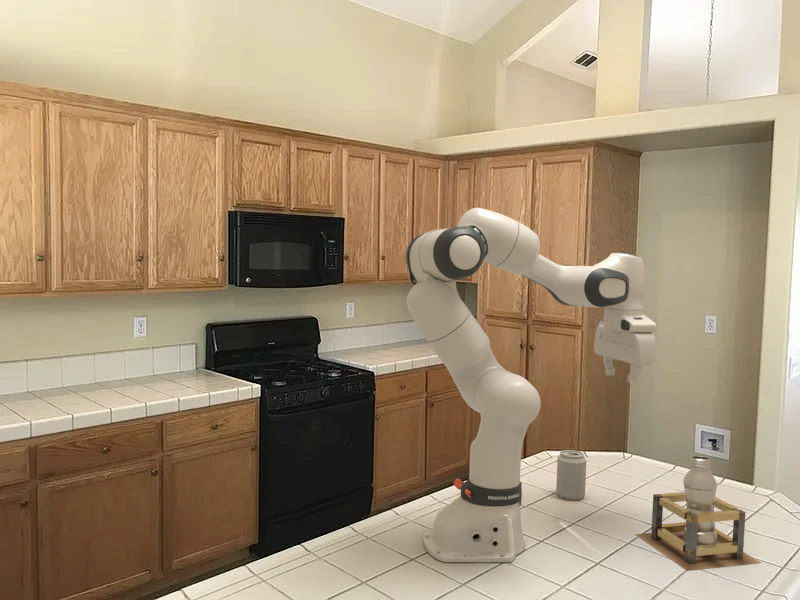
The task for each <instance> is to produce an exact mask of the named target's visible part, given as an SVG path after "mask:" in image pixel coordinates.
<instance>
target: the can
mask: <svg viewBox="0 0 800 600" xmlns="http://www.w3.org/2000/svg"><path fill="white" fill-rule="evenodd" d="M559 453H560V454H559V455H558V456H557V460H556V463H557V464H556V465H557V466H556V483H555V484H556V485H555V486H556V489H555V493H556V494H557V495H558V496H559V497H560V498H561V499H563V498H564V499H563V500H566V499H568V500H567V501H579V500H578V499H580V500H581V499H583V498H584V497H585V496H586V482H587V481H586V480H587V479H586V477H587V458H586V457H585V453H584V452H582V451H580V450H579V451H578V450H574V449H565V450H561V451H560V452H559Z"/></svg>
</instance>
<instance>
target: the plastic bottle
mask: <svg viewBox="0 0 800 600" xmlns="http://www.w3.org/2000/svg"><path fill="white" fill-rule="evenodd" d="M689 465H690V467H691V468H690V469H689V470H688V471H687V472H686V474H685V476H684V477H683V490H684V492H685V496H686V501H685V506H686V507H685V509H687V510H688V511H690V512H691V513H704V512H715V507H714V502H715V497H716V496H717V495H716V493H717V485H718V483H717V481H716V478H715V476H714V475H713V473H712V472H711V471H710V468H711V459H710V457H708V456H703V455H702V456H701V455H692V456H691V457H690V463H689ZM685 522H686V525H685V529H684V536H683V538H684V542H686V527H687V519H685ZM715 523H716V522H706V523H698V531H697V546H699V545H709V544H717V541H718V540H717V534H716V531H715V529H716V524H715Z"/></svg>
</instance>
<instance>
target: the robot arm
mask: <svg viewBox="0 0 800 600" xmlns="http://www.w3.org/2000/svg"><path fill="white" fill-rule="evenodd" d="M456 225H457V226H453V227H448V228H437V229H433V230H430V231H428V232H424V233H423V232H422V233H420V234H418V235H417V236H416V237H414V238H413V239H412V240H411V241H410V242H409V244H408V245H407V247H406V251H405V262H406V267H407V269H408V272H409V279H410V282H411V284H413V286H412V287H411V289H410V290H409V292H408V294H407V296H406V307H407V308H408V311H409V313H410V315H411V317H412V320H413V321H414V323H415V325H416V327H417V328H418V330H419V331H420V333H421V335H422V336H423V338H424V339H425V340H426V342H427V343H428V344H429V345H430V347H431V349H432V350H433V351H434V352H435V353H436V355H437V357H438V358H439V359H440V360H441V362H442V364H443V366H445V368H446V370H447V371H448V372H449V375H450V376H451V378H452V380H453V383H454V384H455V386H456V388H457V389H458V391H459V393H460V396H461V397H462V399H463V400H464V401H465V403H466V404H467V405H468V407H469V408H471V409H472V410H474V411H475V412H476V413H477V412H478V413H479V414H480V423H479V428H478V430H477V434H476V437H475V438H474V439H473V441H471V444H470V449H469V477H468V478H467V480H465V482H464V481H463V480H462V479H461V478H458V477H457V478H455V479H454V481H453V486H454V487H455V488H456V489H457V490H460V496H458V497H457V498H456V499H453V501H452V502H450V503H449V504H448V505H446V506H445V507H443V508H442V509H441V510H440V511H438V512H437V514H436V515H435V518H434V522H433V528H432V530H429V531H424V533H423V535H422V545H423V547H424V548H425V550H426V552H427V553H428V554H429V555H430V556H431V557H433V558H434V559H435V560H438V561H441V562H442V563H511V562H514V560H515V558H516V556H517V555H519V554H521V553H522V552H523V551H524V550H525V549H526V544H525V539H524V534H523V529H522V523H521V522H522V521H521V505H522V499H523V498H522V497H523V495H522V494H523V491H522V487H523V485H522V482H521V466H522V465H521V464H522V463H521V462H522V451H523V450H522V449H523V445H524V441H525V437H526V433H527V431H528V427H530V426H529V425H530V424H532V423H533V421H535V420H536V418H537V417H538V415H539V413H540V410H541V405H542V404H541V403H542V401H541V396H540V394H539V391H538V390H537V388H535V386H533V384H531V383H530V382H529V381H528V380H527V379H526V378H525V377H523V376H522V375H519V374H515V373H514V372H510V371H508V370H506V368H504V367H503V366H502V365H501V364H500V363H499V362H498V360H497V359H496V356H495V355H494V352H493V350H492V348H491V340H490V338H489V336H488V335H487V333H486V332H485V330H483V328H482V326H481V325H480V324H479V322H478V320H476V318H475V317H474V315H473V314H472V312H471V311H470V309H469V308H468V307H467V305H466V304H465V302H464V301H463V300H462V299H461V296H460V294H459V292H458V288H457V281H460V280H465V279H467V278H469V277H471V276H473V275H474V274H475V273H476V272H477V271H478V270H479V269H480V267H481V266H482V264H483V262H484V263H487V265H489V266H490V265H491V266H493V267H494V268H497V269H499V270H501V271H504V272H507V273H511V274H515V275H521V276H523V277H524V278H526V279H528V280H530V281H532V282H534V283H536V284H537V285H539V286H541V287H543V288H544V289H545V290H547V292H548V293H549V294H550V295H551V296H552V297H553V299H554V300H555V301H556V302H558V303H559V304H561V305H562V306H563V305H564V306H569V307H571V306H575V307H576V306H578V307H586V308H595V309H596V308H597V309H598V308H599V309H601V308H604V311H603V313H604V314H603V318H601V320H600V321H599V322H598V326H597V327H596V329H595V335H594V342H593V345H594V346H593V350H594V353H595V355H599V356H602V361H603V364H604V368H605V369H604V370H605V373H604V374H605V375H607V376H611V377H612V376H615V375H616V368H615V367H614V364H613V361H614V360H618V361H621V362H624V363H628V364H630V365H629V366H630V367H629V368H630V372H629V374H627V382H628V383H632V384H637V383H638V382H639V375H640V373H641V371H642V369H643V368H642V366H644V367H647V366H648V367H649V366H651V365H653V362H654V361H655V357H656V356H655V354H656V352H655V351H656V337H655V335H654V333H655V332H656V331H657V323H656V322H654V321H653V320H652V319H651V318H649V317H648V316H647V315H646V314H645V313H644V303H643V297H644V294H645V290H646V289H645V288H646V287H645V286H646V273H645V264H644V260H643V258H642V257H640V256H639V255H637V254H635V253H630V252H622V251H621V252H620V251H615V252H612V253H610V255H608V257H607V258H605V259H603V260H602V261H600V262H598V263H596V264H593V265H575V264H558V263H556V262H554V261H552V260H550V259H549V258H547V257H545V256H543V255H541V254H540V252H541V242H540V239H539V236H538V234H537V233H536V232H535V231H533V230H532V229H531V228H529V227H528V226H527V225H525V224H523V223H521V222H520V221H518V220H515V219H514V218H511V217H509V216H507V215H504V214H502V213H499V212H496V211H493V210H490V209H486V208H482V207H473V208H470V209H469V210H467V211H466V212H465V213H464V214H462V216H461V218H460V219H459V221H458V223H457V224H456Z"/></svg>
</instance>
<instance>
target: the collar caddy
mask: <svg viewBox="0 0 800 600" xmlns="http://www.w3.org/2000/svg"><path fill="white" fill-rule="evenodd" d="M652 497H653V498H652V515H651V532H650V533H651V538H652V539H653V540H655V541H658V540H661V538H662V539H664V540H665V541H667V542H668V543H670V544H671V545H673V546H674V547H676V548H677V549H679V550H680V551H682V552H685V561H686V562H687V563H689V564H695V563H696V556H704V555H714V554H724V553H732V557H734V558H736V559H743V552H744V544H745V542H744V541H745V529H746V528H745V527H746V511H744V510H743V509H738V507H736V506H734V505H733V504H730V503H728V502H726V501H725V500H722V499H720V498H718V497H716V496H715V502H714V508H716V509H718V511H714V512H704V513H691V512H690V511H688V510H687V509H686V507H683V506H681V505H679V504H678V503H681V502H686V496H685V491H684V492H681V491H680V492H668V493H655V494H653V495H652ZM663 508H664V509H666V510H667V511H669V512H671V513H672V514H675V516H678V517H679V518H681V519H683V520H685V521H683V522H681V521H680V522H673V523H671V522H670V523H663V513H664V512H663V510H664V509H663ZM719 510H720V511H719ZM686 519H687V527H686V542H684V541H683V540H681V539H680V538H678V537H677V536H675V535H673V534H672V533H675V532H684V529H685V525H686ZM727 521H728V522H729V521H733V525H732V526H733V527H732V536H729V535H728V534H726V533H724V532H722V531H720V530H718V529H717V528H715V531H716V534H717V540H718V541H719V542H721V543H720V544H709V545H699V546H697V531H698V523H706V522H715V523H716V522H718V523H719V522H727Z"/></svg>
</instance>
